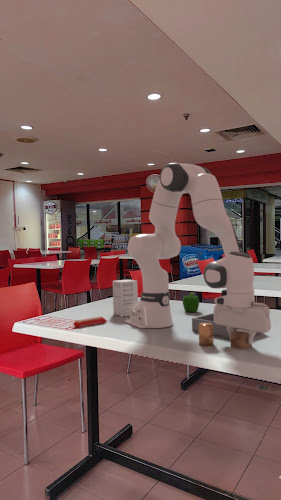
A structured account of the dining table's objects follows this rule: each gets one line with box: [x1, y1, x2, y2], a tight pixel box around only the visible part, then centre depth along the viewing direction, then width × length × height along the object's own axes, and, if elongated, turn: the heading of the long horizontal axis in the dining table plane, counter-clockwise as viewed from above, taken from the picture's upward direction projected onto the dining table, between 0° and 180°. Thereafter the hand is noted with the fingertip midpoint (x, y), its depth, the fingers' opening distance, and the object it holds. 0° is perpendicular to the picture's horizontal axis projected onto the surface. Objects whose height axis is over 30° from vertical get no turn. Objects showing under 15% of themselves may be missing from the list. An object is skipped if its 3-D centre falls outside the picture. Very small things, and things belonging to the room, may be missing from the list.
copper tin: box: [198, 323, 215, 348], centre depth 128 cm, size 5×5×7 cm
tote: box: [191, 312, 262, 340], centre depth 145 cm, size 22×16×5 cm
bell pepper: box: [182, 291, 200, 313], centre depth 186 cm, size 8×8×10 cm
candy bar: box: [72, 316, 108, 329], centre depth 162 cm, size 16×4×3 cm, turn 128°
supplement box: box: [112, 279, 139, 318], centre depth 183 cm, size 10×9×17 cm
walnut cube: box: [230, 329, 253, 351], centre depth 124 cm, size 5×5×5 cm
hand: (241, 341), depth 124 cm, fingers closed on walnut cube, 5 cm apart
